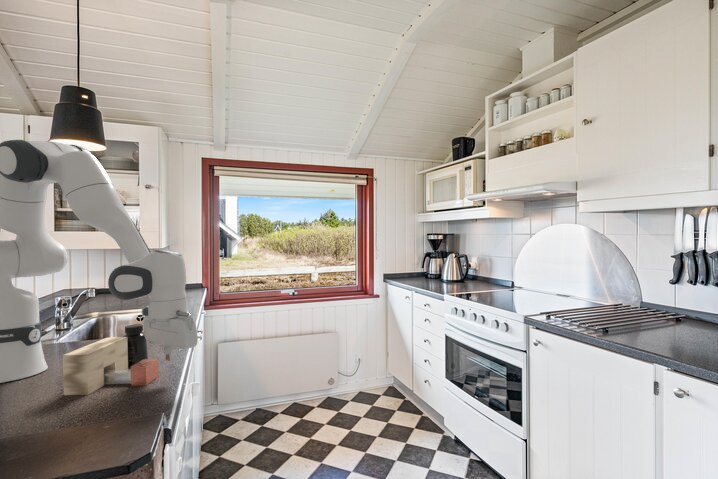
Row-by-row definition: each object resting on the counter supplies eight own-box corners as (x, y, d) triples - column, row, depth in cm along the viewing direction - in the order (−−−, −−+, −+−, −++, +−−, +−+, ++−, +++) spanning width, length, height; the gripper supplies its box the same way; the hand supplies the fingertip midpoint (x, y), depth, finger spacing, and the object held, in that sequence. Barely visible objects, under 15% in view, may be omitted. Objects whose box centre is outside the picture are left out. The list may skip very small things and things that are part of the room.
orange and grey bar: (158, 376, 101) (158, 358, 101) (146, 385, 95) (145, 366, 95) (108, 378, 101) (107, 360, 101) (92, 386, 95) (92, 367, 95)
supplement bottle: (131, 360, 116) (130, 323, 116) (152, 360, 115) (151, 322, 115) (116, 368, 109) (115, 328, 109) (139, 368, 109) (138, 328, 108)
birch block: (63, 395, 90) (62, 355, 90) (107, 371, 106) (106, 337, 106) (88, 394, 90) (87, 354, 90) (128, 371, 106) (127, 336, 106)
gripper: (203, 310, 95) (204, 363, 95) (160, 305, 106) (162, 352, 106) (179, 314, 90) (181, 370, 89) (138, 308, 101) (139, 358, 101)
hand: (170, 360), depth 98 cm, fingers closed
